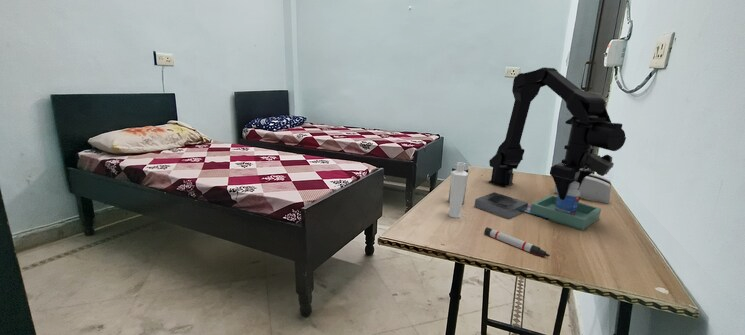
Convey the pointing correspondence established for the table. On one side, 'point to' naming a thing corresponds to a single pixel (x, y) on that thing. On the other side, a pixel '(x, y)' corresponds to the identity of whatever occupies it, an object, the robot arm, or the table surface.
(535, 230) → the table surface
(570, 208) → the pill bottle
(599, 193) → the napkin holder
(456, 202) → the perfume bottle
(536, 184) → the table surface
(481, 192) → the table surface
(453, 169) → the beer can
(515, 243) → the marker
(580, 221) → the tray
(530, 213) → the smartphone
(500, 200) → the gray square holder
